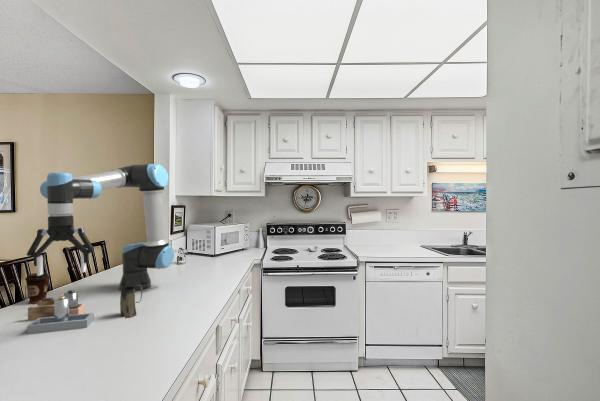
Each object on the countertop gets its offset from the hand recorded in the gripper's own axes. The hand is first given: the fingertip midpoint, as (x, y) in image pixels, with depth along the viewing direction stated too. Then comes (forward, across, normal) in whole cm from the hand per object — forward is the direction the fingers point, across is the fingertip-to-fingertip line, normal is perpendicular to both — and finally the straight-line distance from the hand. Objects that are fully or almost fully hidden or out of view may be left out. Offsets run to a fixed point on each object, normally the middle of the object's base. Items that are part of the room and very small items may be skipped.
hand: (62, 273), depth 119 cm
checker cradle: (+20, +10, -15) cm, 27 cm away
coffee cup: (+20, +24, -39) cm, 50 cm away
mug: (+20, -21, -6) cm, 30 cm away
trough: (+20, 0, 0) cm, 20 cm away
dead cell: (+19, 0, -8) cm, 21 cm away
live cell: (+19, 0, 0) cm, 19 cm away
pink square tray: (+20, 0, -8) cm, 22 cm away
